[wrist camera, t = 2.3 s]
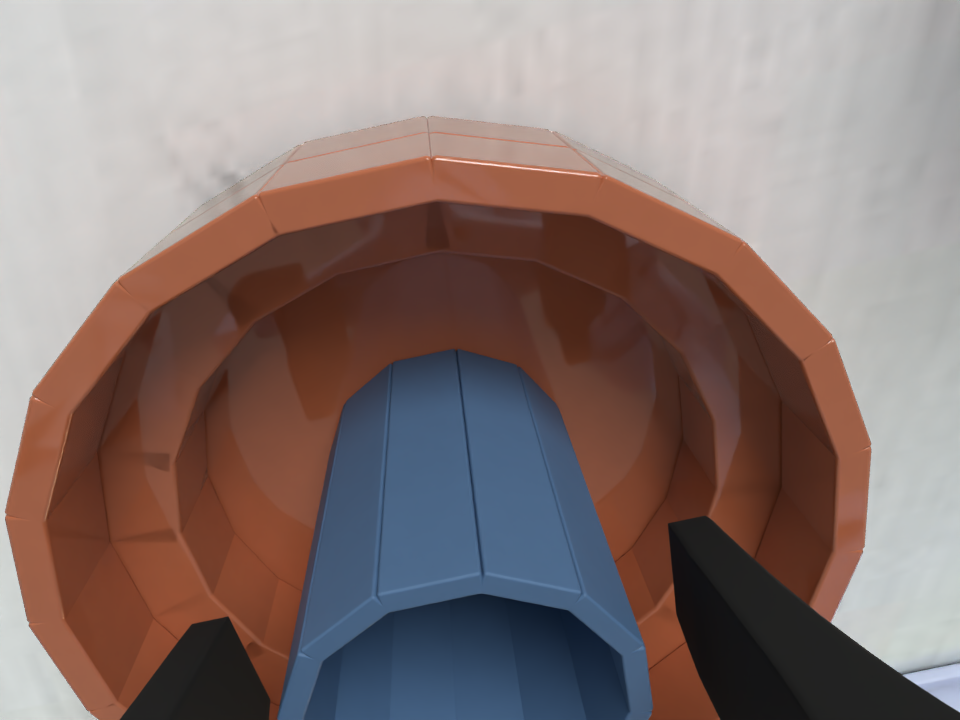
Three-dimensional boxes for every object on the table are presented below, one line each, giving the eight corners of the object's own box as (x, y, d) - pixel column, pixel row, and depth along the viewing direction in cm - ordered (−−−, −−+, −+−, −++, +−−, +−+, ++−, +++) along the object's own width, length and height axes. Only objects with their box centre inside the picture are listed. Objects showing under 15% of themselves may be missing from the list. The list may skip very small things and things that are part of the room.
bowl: (759, 602, 19) (851, 758, 15) (252, 707, 19) (209, 890, 15) (747, 40, 13) (902, 51, 9) (-10, 207, 13) (-204, 293, 9)
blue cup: (577, 519, 17) (664, 790, 11) (368, 563, 17) (343, 856, 11) (545, 328, 14) (632, 541, 9) (303, 380, 14) (225, 626, 9)
